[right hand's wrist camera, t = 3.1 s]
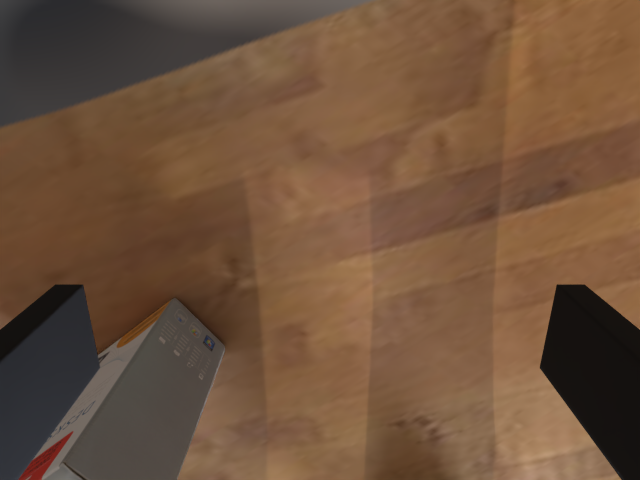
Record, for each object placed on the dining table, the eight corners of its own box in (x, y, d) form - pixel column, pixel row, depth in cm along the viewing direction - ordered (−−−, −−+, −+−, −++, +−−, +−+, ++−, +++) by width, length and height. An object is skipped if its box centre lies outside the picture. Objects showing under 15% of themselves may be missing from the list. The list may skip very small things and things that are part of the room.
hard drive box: (174, 292, 44) (66, 461, 25) (228, 346, 46) (165, 538, 27) (67, 375, 47) (-99, 578, 28) (122, 421, 49) (1, 638, 30)
